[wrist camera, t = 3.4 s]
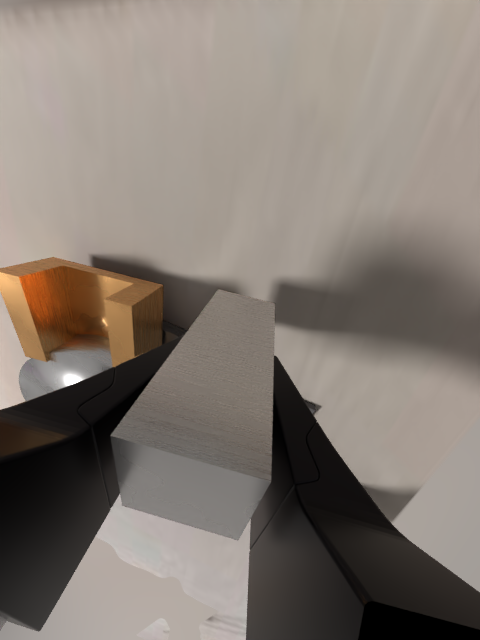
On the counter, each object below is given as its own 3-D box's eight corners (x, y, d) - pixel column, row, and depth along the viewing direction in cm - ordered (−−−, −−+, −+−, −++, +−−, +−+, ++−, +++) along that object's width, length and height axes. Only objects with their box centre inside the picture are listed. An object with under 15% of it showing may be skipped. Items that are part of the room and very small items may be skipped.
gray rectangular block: (275, 303, 11) (271, 482, 4) (260, 349, 12) (237, 540, 5) (218, 289, 11) (110, 435, 4) (210, 336, 12) (122, 505, 5)
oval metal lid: (178, 439, 20) (155, 495, 16) (71, 409, 21) (23, 456, 17) (193, 292, 13) (155, 330, 9) (24, 249, 13) (-83, 267, 9)
